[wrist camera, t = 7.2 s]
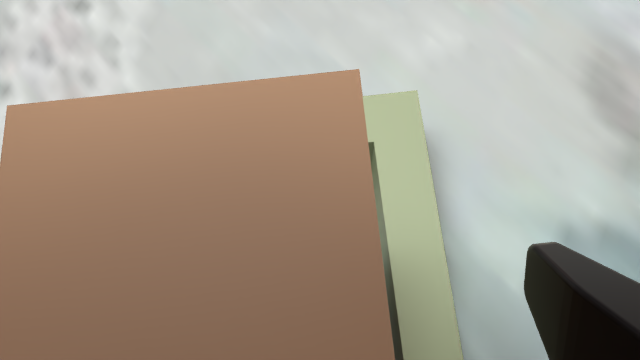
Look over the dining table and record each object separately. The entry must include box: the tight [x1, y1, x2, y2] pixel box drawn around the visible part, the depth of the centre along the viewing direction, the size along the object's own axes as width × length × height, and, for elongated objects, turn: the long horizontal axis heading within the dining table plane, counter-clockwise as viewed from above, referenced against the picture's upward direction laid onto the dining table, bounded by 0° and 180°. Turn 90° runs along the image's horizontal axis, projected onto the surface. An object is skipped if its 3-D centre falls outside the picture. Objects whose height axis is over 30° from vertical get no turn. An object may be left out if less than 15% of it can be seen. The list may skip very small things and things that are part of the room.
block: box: [363, 90, 463, 360], centre depth 15 cm, size 14×8×3 cm, turn 5°
